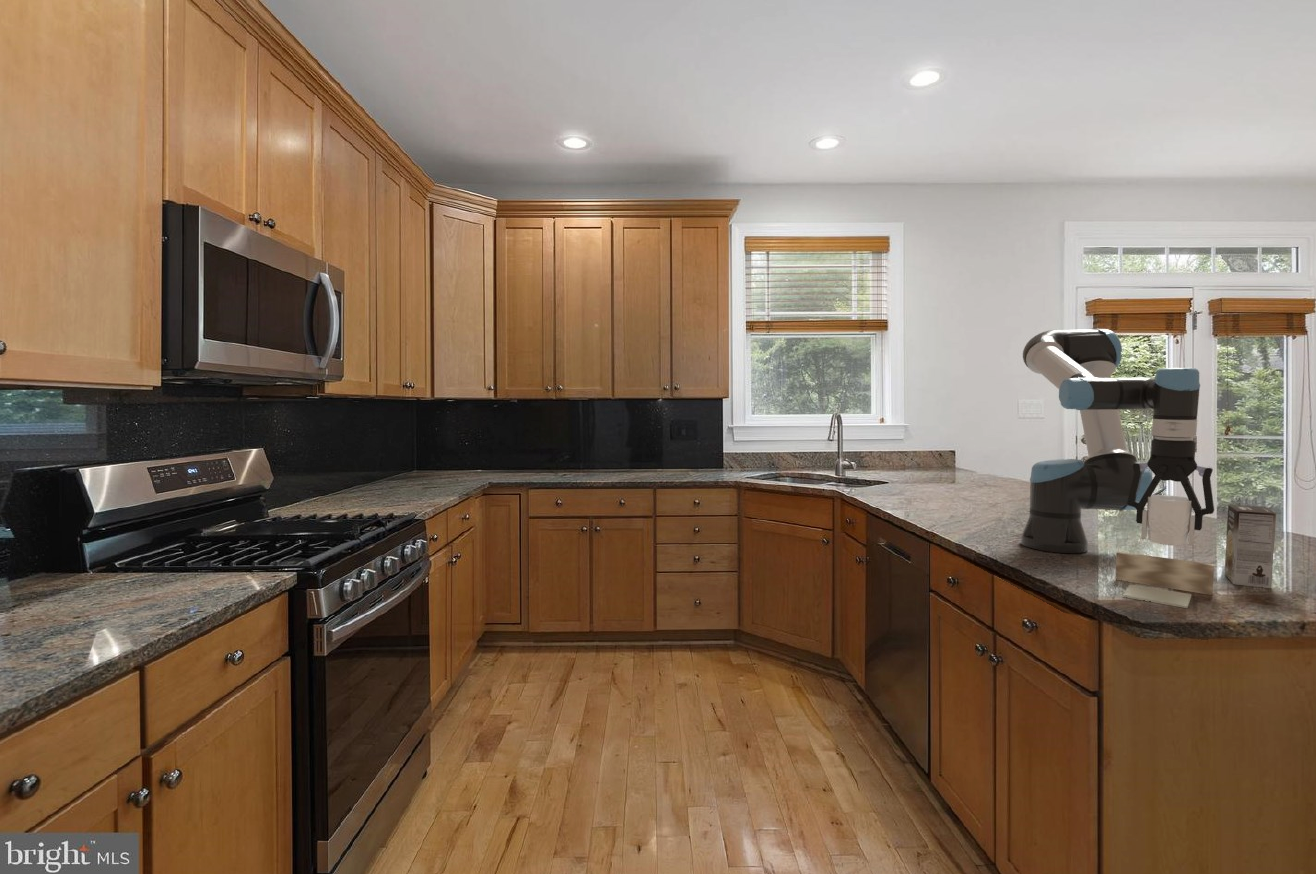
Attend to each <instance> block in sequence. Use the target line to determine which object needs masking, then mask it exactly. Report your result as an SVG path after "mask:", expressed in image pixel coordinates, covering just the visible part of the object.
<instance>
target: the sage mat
mask: <svg viewBox="0 0 1316 874" xmlns="http://www.w3.org/2000/svg"><path fill="white" fill-rule="evenodd" d="M1192 594H1193V593H1186V592H1185V593H1184V592H1181V591H1180V592H1179V591H1175V590H1169V589H1161V588H1156V587H1148V586H1144V585H1143V586H1142V585H1138V584H1132V583H1131V584H1129V585H1128V586H1127V587H1126V589H1125V591H1124V592H1123V594H1122V596H1123V597H1122V598H1126V597H1127V598H1126V599H1133V600H1139V601H1143V600H1145V601H1144V602H1149V601H1151V602H1150V603H1155V604H1162V605H1167V606H1171V607H1172V606H1173V607H1176V608H1177V607H1178V608H1184V609H1188V608H1189V605H1190V601H1191V598H1192V596H1193V595H1192Z"/></svg>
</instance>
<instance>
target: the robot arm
mask: <svg viewBox="0 0 1316 874" xmlns="http://www.w3.org/2000/svg"><path fill="white" fill-rule="evenodd" d="M1122 352H1123V348H1122V342H1121V340H1120V338H1119V336H1118V335H1117V334H1116V332H1114V331H1113V330H1110V329H1106V328H1096V327H1094V328H1089V329H1051V330H1046V331H1042V332H1040V333H1038V334H1036V335H1034V336H1033V337H1032V338H1030V339H1029V341H1028V342H1027V343H1026V344H1025V346H1024V348H1023V350H1022V360H1023V363H1024V365H1026V367H1027V368H1028V369H1029V370H1031V372H1033V373H1035V374H1039V375H1042V376H1043V377H1044V378H1045V379H1047V381H1048V382H1050V383H1051V384H1052V385H1053V386H1054V387H1056V388H1057V389H1058V399H1059V402H1060V405H1061V407H1062V408H1063V409H1066V410H1077V411H1079V413H1080V419H1081V424H1082V429H1083V433H1084V439H1085V445H1086V450H1087V454H1088V456H1087V457H1086V458H1085V459H1084V460H1082V459H1077V458H1067V459H1065V458H1061V459H1060V458H1059V459H1050V460H1043V461H1038V462H1036V463H1034V464H1033V465H1032V466H1031V472H1030V478H1029V482H1030V483H1029V484H1030V488H1029V490H1030V491H1029V492H1030V494H1029V513H1028V514H1029V516H1028V518H1027V521H1026V524H1025V526H1024V528H1023V530H1022V533H1021V538H1020V544H1021V545H1022V546H1024V547H1026V548H1029V549H1033V550H1038V551H1041V552H1042V551H1043V552H1051V553H1060V554H1081V553H1086V552H1087V551H1088V550H1089V549H1088V548H1089V543H1088V539H1087V536H1086V532H1085V530H1084V526H1083V523H1082V519H1081V518H1082V510H1098V511H1099V510H1101V511H1102V510H1104V511H1105V510H1107V511H1119V512H1124V511H1136V515H1135V516H1136V519H1135V521H1136V522H1135V523H1137V524H1141V537H1140V539H1141V540H1146V539H1148V519H1147V508H1145V507H1146V506H1147V501H1148V497H1151V495H1154V494H1153V493H1154V492H1155V490H1156V488H1157V487H1158V485H1159V483H1160V482H1161V481H1165V482H1166V481H1173V482H1177V483H1180V484H1181V485H1182V488H1183V490H1184V492H1185V494H1186V498H1188V499H1189V501H1191V506H1192V511H1193V512H1194V513H1192V515H1190V530H1189V533H1188V546H1192V547H1193V546H1194V544H1195V534H1196V531H1201V530H1202V528H1203V517H1204V516H1205V515H1212V514H1214V511H1215V505H1214V498H1213V489H1212V481H1211V480H1212V479H1211V476H1212V474H1213V471H1214V468H1213V467H1211V466H1207V467H1206V466H1203V465H1198V464H1197V462H1196V459H1195V458H1196V446H1197V445H1196V441H1195V440H1193V439H1194V438H1196V437H1197V429H1198V428H1197V427H1198V411H1199V400H1200V388H1201V383H1200V371H1199V369H1197V368H1195V367H1167V368H1165V367H1163V368H1159V369H1157V370H1156V372H1155V375H1154V376H1155V377H1153V376H1151V377H1149V376H1148V377H1146V376H1145V377H1144V376H1140V377H1112V375H1113V374H1114V373H1115V372H1116V370H1117V368H1118V366H1119V365H1120V364H1121V361H1122V356H1123V354H1122ZM1119 410H1120V411H1121V410H1123V411H1125V410H1126V411H1128V410H1129V411H1135V410H1136V411H1141V410H1143V411H1144V410H1145V411H1150V410H1151V411H1153V412H1152V428H1151V436H1153V437H1154V438H1153V439H1152V440H1151V445H1150V457H1149V459H1148V461H1146V462H1145V461H1143V462H1139V461H1138V460H1137V456H1136V455H1135V454H1133V453H1132V452H1130V451H1128V449H1127V444H1126V440H1125V435H1124V430H1123V426H1122V421H1121V416H1120V411H1119ZM1195 471H1197V472H1198V475H1199V476H1200V477H1202V489H1203V497H1204V498H1203V499H1204V504H1205V507H1203V508H1202V506H1201V503H1200V502H1199V500H1198V497H1197V494H1196V493H1195V490H1194V488H1193V486H1192V483H1191V480H1190V479H1189V476H1190V475H1192V473H1194V472H1195ZM1152 473H1153V475H1154V476H1153V475H1152Z"/></svg>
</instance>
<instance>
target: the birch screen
mask: <svg viewBox="0 0 1316 874" xmlns="http://www.w3.org/2000/svg"><path fill="white" fill-rule="evenodd" d="M1115 560H1116V561H1115V579H1117V581H1121V580H1122V581H1123V582H1127V581H1128V583H1129V582H1130V583H1134V584H1139V585H1140V584H1141V585H1148V586H1154V587H1159V588H1160V587H1161V588H1165V589H1172V590H1178V591H1185V592H1191V593H1197V594H1203V595H1209V596H1213V594H1214V593H1213V592H1214V575H1215V564H1214V563H1213V564H1212V563H1205V562H1199V561H1192V560H1185V559H1183V560H1182V559H1176V558H1168V557H1163V556H1162V557H1160V556H1154V555H1147V554H1146V555H1145V554H1139V553H1133V552H1132V553H1131V552H1124V551H1117V552H1116V557H1115Z"/></svg>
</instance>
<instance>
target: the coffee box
mask: <svg viewBox="0 0 1316 874" xmlns="http://www.w3.org/2000/svg"><path fill="white" fill-rule="evenodd" d="M1276 520H1277V513H1275V512H1274V511H1272V509H1269V508H1268V507H1266V506H1256V505H1255V506H1253V505H1252V506H1251V505H1238V504H1237V505H1236V504H1228V505H1227V520H1226V521H1227V522H1226V523H1227V524H1226V542H1225V543H1226V544H1225V559H1224V560H1225V561H1224V562H1225V563H1224V575H1225V576H1226V577H1227V579H1229V580H1230V582H1231V583H1232V585H1236V586H1247V587H1252V586H1253V588H1254V587H1255V588H1261V587H1263V589H1264V588H1265V589H1270V588H1271V589H1272V582H1273V566H1274V553H1275V552H1274V551H1275V550H1274V549H1275V540H1276V539H1275V535H1276V524H1277V523H1276V522H1277V521H1276Z"/></svg>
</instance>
